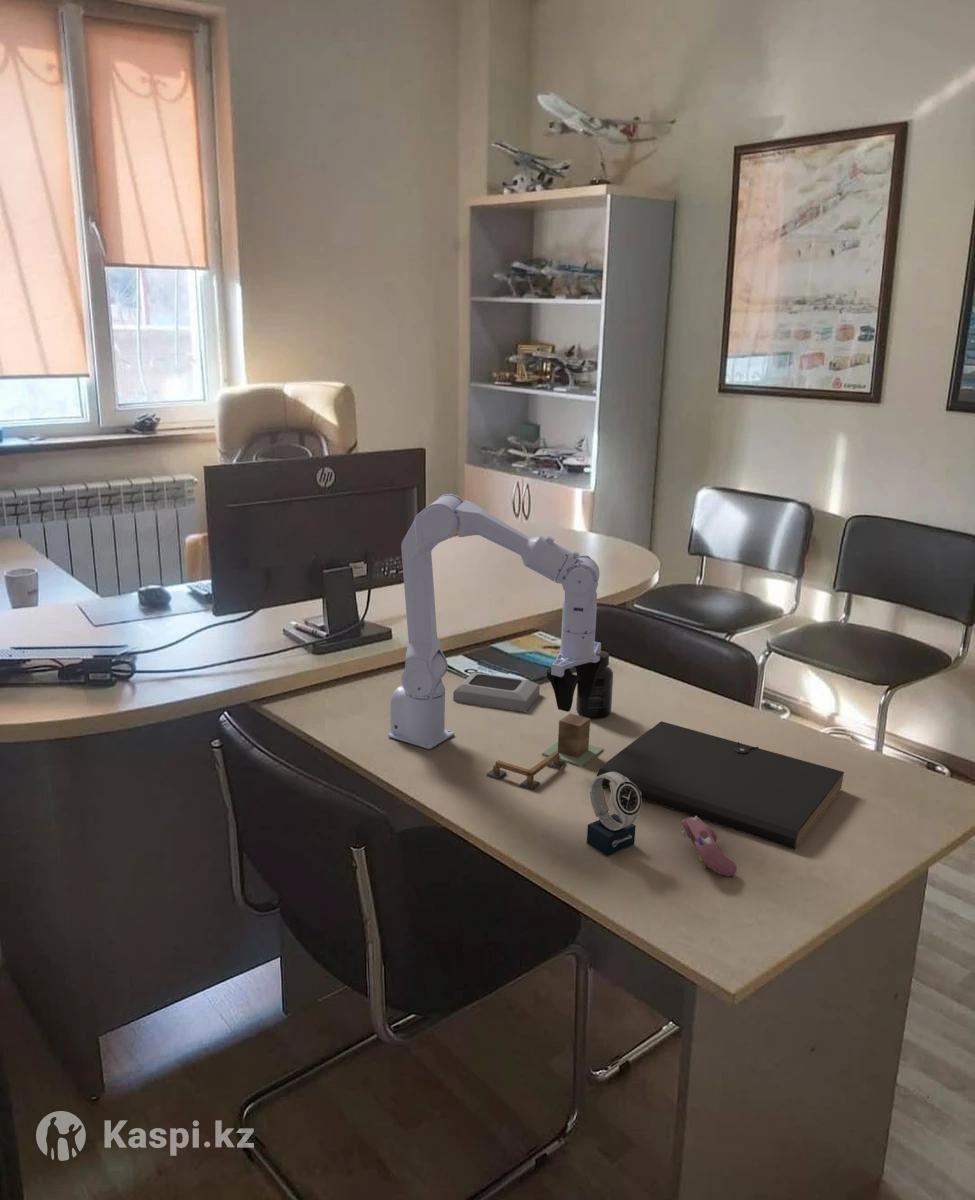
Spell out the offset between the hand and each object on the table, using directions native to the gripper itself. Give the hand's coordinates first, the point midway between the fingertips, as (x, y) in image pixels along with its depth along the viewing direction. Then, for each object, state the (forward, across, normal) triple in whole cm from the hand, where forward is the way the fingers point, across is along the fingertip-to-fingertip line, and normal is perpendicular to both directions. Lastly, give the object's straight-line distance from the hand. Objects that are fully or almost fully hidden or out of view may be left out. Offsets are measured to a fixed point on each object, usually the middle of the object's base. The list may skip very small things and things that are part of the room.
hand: (574, 702), depth 170 cm
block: (+9, 0, 0) cm, 9 cm away
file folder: (+10, +2, -26) cm, 28 cm away
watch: (+10, -24, -19) cm, 32 cm away
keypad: (+10, +14, +24) cm, 29 cm away
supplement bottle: (+10, +18, +5) cm, 21 cm away
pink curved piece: (+10, -20, -32) cm, 39 cm away
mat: (+9, 0, 0) cm, 9 cm away
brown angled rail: (+9, -11, +3) cm, 14 cm away
